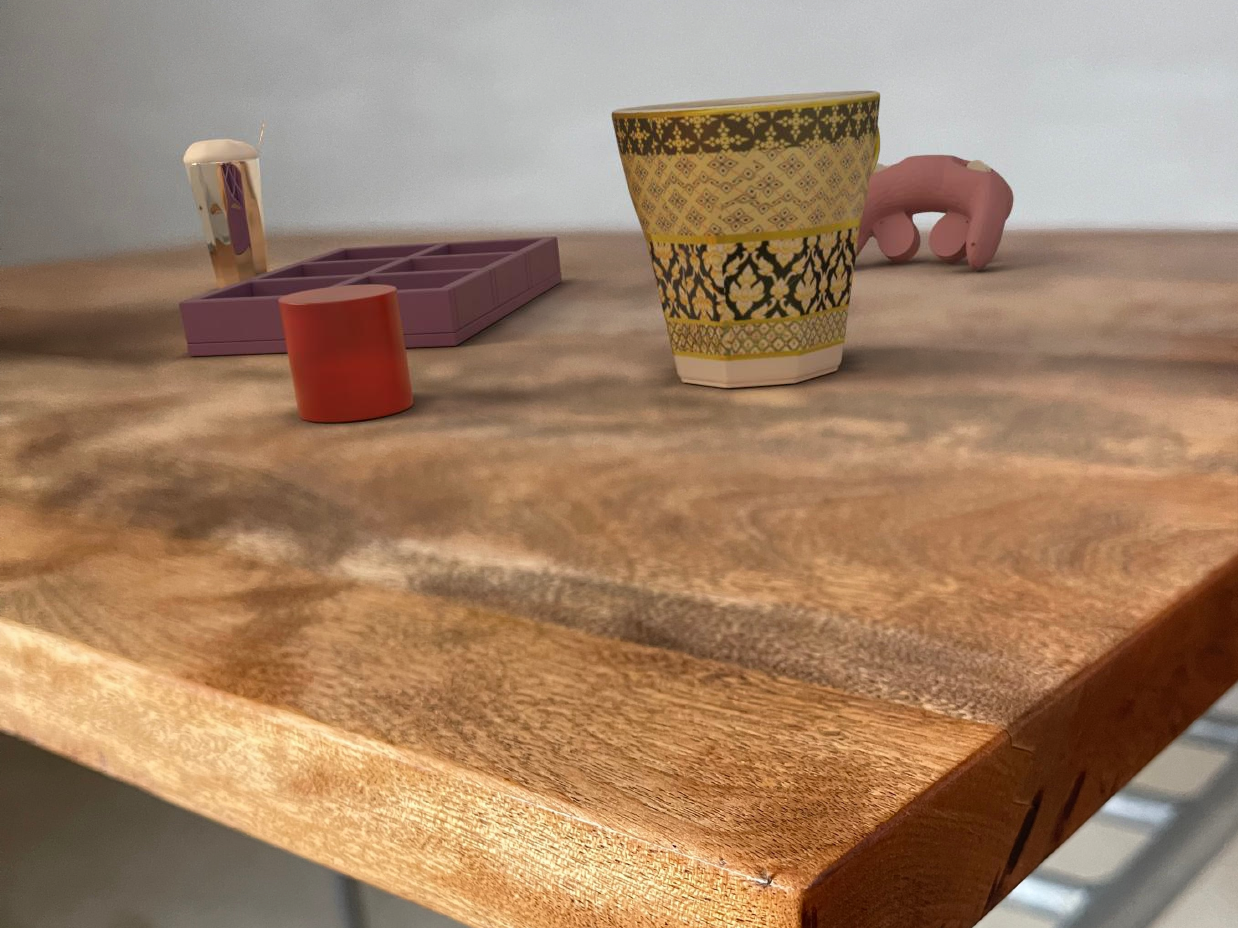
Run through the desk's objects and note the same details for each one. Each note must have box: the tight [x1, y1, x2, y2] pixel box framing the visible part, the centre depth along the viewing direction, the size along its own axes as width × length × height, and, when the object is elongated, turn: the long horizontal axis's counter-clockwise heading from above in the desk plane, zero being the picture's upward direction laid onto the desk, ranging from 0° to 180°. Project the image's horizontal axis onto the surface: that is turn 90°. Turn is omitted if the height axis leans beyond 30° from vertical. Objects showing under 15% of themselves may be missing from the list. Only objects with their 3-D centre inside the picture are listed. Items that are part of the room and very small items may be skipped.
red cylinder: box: [278, 284, 414, 424], centre depth 55 cm, size 4×4×4 cm
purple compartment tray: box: [178, 236, 563, 357], centre depth 77 cm, size 20×14×3 cm
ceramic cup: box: [610, 90, 881, 389], centre depth 56 cm, size 13×10×10 cm
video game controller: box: [856, 154, 1015, 272], centre depth 80 cm, size 10×5×7 cm, turn 59°
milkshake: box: [182, 118, 270, 289], centre depth 91 cm, size 4×5×10 cm
